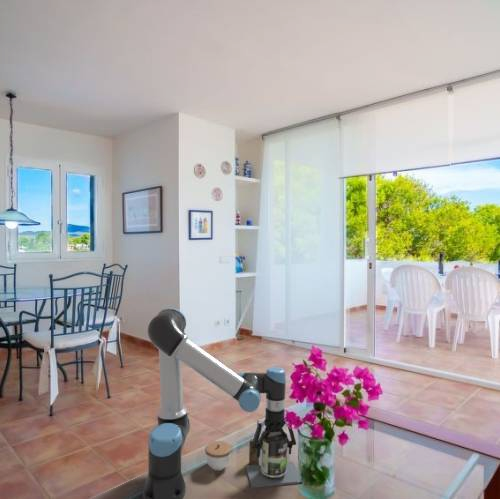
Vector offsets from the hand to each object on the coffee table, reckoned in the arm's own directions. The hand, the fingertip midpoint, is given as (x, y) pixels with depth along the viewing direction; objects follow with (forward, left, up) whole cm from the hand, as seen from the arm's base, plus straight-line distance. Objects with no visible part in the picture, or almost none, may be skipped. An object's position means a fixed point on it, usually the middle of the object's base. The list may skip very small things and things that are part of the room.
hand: (273, 462), depth 158 cm
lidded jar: (-21, +9, -5) cm, 23 cm away
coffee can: (0, 0, -3) cm, 3 cm away
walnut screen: (0, +9, -5) cm, 10 cm away
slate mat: (0, 0, -5) cm, 5 cm away
